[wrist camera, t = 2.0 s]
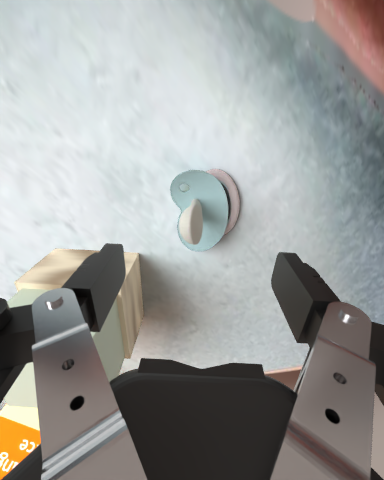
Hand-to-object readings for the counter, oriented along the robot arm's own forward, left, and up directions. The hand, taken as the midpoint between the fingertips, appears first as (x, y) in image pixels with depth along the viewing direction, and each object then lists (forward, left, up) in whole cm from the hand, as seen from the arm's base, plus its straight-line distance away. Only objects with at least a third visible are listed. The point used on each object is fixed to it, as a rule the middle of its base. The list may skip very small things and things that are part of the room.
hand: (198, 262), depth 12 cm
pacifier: (-1, 0, -11) cm, 11 cm away
